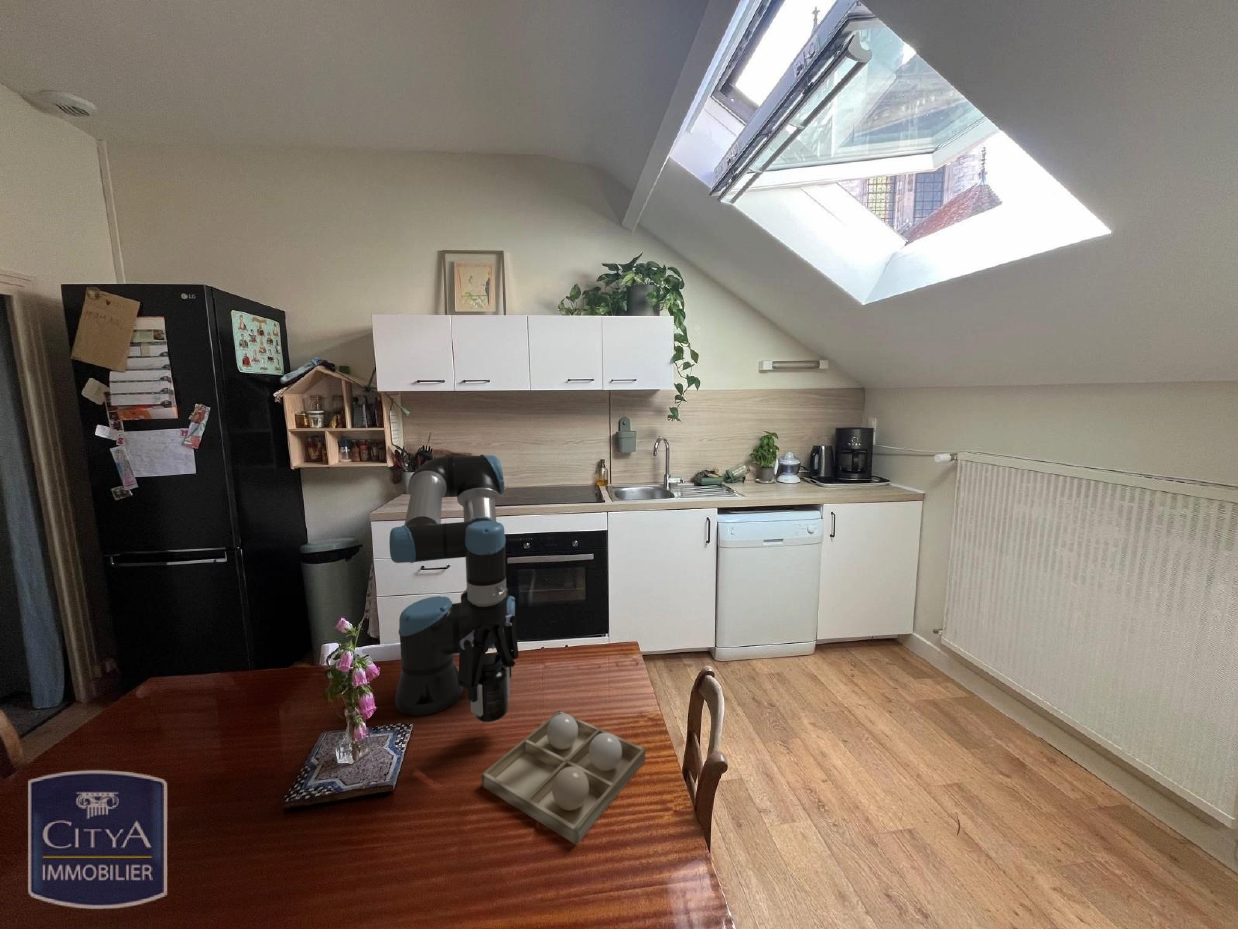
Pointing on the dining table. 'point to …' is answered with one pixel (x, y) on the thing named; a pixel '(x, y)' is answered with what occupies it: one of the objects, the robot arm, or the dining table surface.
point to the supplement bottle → (493, 689)
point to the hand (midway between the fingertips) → (491, 703)
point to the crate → (535, 767)
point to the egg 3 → (605, 752)
